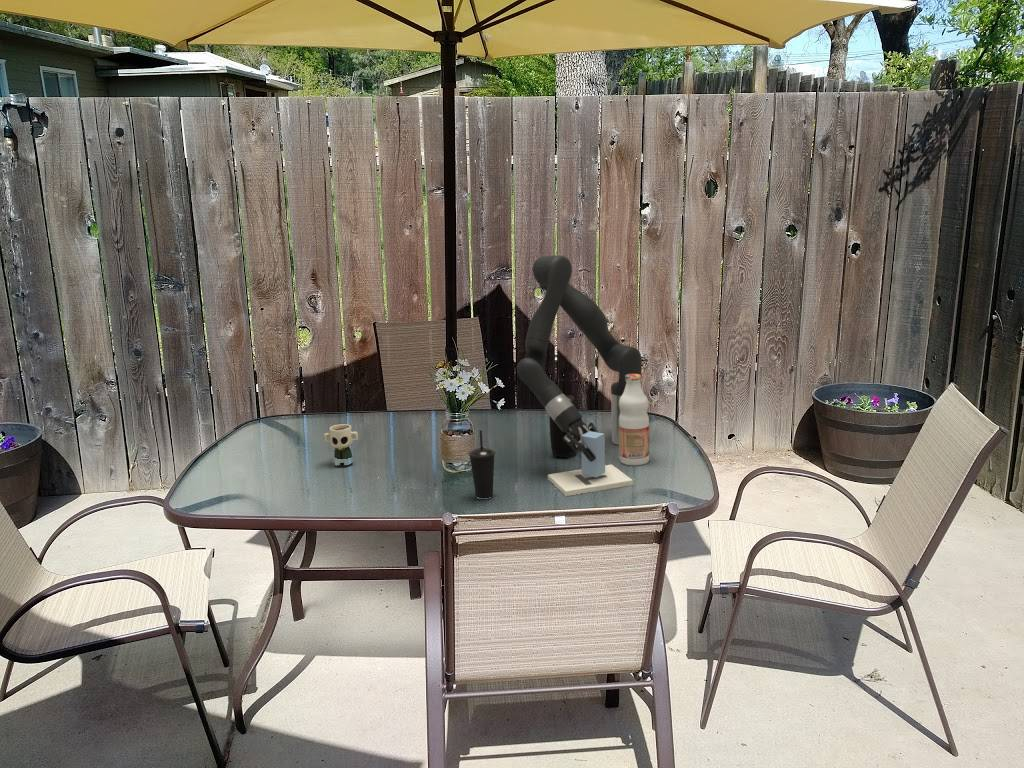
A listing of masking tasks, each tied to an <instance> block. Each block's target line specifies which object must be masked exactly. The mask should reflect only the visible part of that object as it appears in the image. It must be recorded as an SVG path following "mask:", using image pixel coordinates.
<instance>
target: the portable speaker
mask: <svg viewBox="0 0 1024 768" xmlns="http://www.w3.org/2000/svg"><path fill="white" fill-rule="evenodd" d="M565 396H566V397H567V398H568V399H569V400H570V401H571V403H572V404H573V405H574V406H575V407H576V404H575V397H574V395H569V394H568V395H565ZM548 415H549V414H548ZM566 435H567V433H566V432H562V431H561V429H560V428H559V427H558V425H557V424H556V423H555V422H554V420H553V419H552V418H551V416H550V415H549V438H550V448H551V451H552V452H551V453H552V454H551V455H552V457H553V456H554V457H553V458H555V457H557V458H558V457H565V458H566V459H568V458H569V459H571V458H574V457H576V454H577V453H576V452H575V451H574V450H573V449H572V448H571V447H570V446H569V445H568V444H567V443H566V442H565V441H564V440H563V438H564V437H565V436H566ZM574 446H575V447H576V448H577V446H576V445H575V444H574Z"/></svg>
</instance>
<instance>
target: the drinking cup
mask: <svg viewBox="0 0 1024 768" xmlns="http://www.w3.org/2000/svg"><path fill="white" fill-rule="evenodd" d="M483 443H484V442H483V431H482V430H480V429H479V446H478V447H475V448H474V449H473V448H472V449H471V450H468V455H469V460H470V466H471V473H472V478H473V485H474V490H475V491H474V492H475V497H476V496H477V497H479V498H489V497H492V496H494V478H495V476H494V474H495V454H496V450H495V449H493V448H490V447H488V446H483ZM492 498H493V497H492Z"/></svg>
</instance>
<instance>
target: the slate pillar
mask: <svg viewBox="0 0 1024 768" xmlns="http://www.w3.org/2000/svg"><path fill="white" fill-rule="evenodd" d="M605 434H606V433H602V432H599V431H598V432H592V431H590V432H587V433H585V434H583V435H582V437H583V439H584V442H585V443H586V445H587V447H588V448H589V449H590V450H591V451H592V453H593V454H594V455H595V457H596V459H595V460H594V461H592V462H590V461H589V460H588V459H587V458H586V456H585V455H584V454H583V453H581V452H580V453H581V455H580V456H581V457H580V458H581V469H582V475H587V476H592V477H598V476H600V475H602V474H603V473H605V465H606V453H605V451H606V443H605V442H606V441H605V438H606V437H605ZM581 445H582V444H581ZM582 446H583V445H582Z"/></svg>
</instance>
